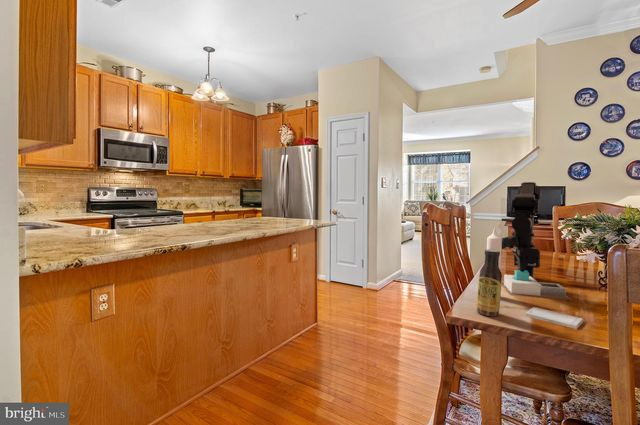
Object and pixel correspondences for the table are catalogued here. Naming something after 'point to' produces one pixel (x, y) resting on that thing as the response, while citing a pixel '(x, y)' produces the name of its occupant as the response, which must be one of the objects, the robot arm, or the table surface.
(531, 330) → the table surface
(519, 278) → the plug
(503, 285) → the board
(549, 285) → the holster
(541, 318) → the hard drive
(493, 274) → the sauce bottle
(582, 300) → the table surface
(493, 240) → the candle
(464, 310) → the table surface
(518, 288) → the port box
